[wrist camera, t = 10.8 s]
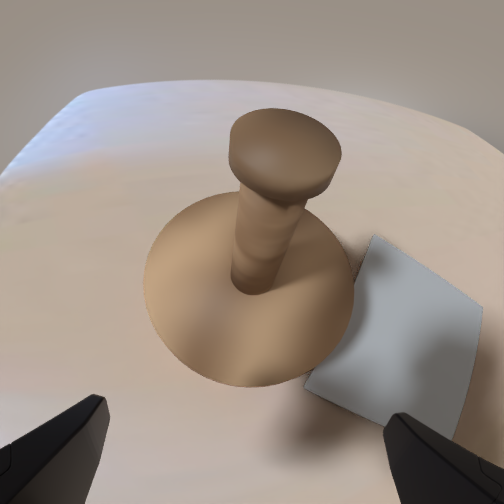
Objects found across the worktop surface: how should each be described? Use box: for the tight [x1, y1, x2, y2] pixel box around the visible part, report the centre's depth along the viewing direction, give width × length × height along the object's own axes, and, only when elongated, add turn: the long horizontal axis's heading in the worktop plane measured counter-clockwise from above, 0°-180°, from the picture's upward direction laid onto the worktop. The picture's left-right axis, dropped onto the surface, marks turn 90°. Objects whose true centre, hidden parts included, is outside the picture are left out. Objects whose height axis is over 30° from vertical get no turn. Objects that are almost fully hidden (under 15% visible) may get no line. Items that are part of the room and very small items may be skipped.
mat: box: [303, 234, 483, 441], centre depth 22 cm, size 16×16×1 cm
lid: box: [143, 108, 354, 387], centre depth 14 cm, size 13×13×11 cm
